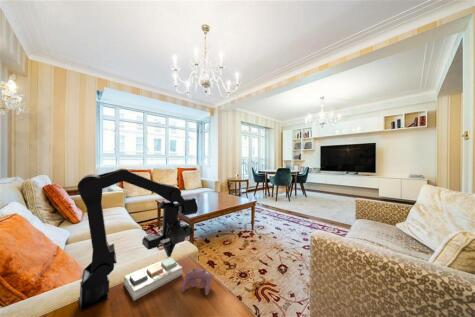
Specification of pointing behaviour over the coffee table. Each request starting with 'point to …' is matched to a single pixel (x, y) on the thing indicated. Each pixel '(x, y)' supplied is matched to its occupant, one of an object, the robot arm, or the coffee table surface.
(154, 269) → the terracotta key
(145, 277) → the charcoal key
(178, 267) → the pad
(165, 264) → the sage key
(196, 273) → the video game controller
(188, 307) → the coffee table surface
